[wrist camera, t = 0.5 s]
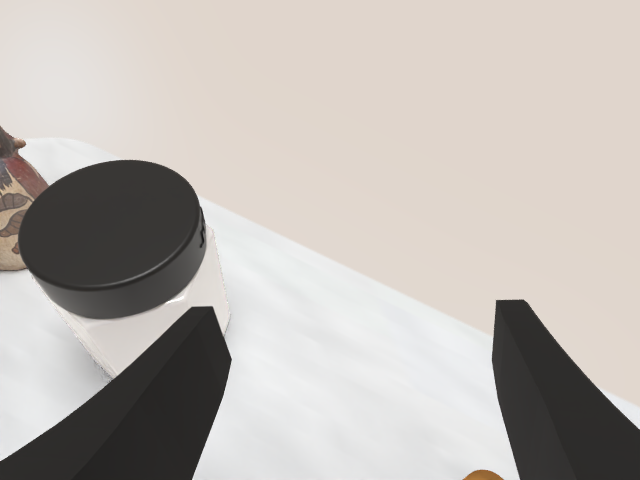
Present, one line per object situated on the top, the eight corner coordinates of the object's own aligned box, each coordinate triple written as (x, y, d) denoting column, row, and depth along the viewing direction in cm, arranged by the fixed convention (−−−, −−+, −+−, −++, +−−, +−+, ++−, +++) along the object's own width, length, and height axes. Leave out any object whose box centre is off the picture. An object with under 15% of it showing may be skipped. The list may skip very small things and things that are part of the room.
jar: (256, 333, 32) (242, 214, 22) (159, 429, 28) (92, 331, 18) (169, 263, 35) (125, 133, 26) (70, 338, 31) (-25, 217, 22)
